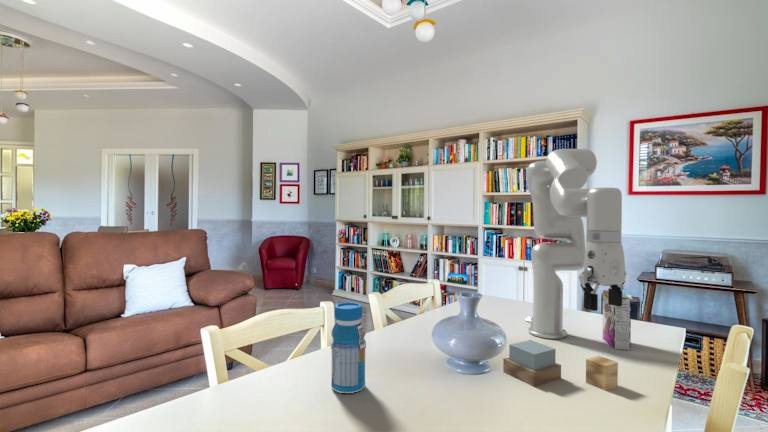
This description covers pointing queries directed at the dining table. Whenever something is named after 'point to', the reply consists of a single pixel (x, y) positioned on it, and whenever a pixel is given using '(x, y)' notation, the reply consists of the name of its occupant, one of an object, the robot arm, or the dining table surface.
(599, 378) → the oak block
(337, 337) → the beverage bottle
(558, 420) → the dining table surface
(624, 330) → the candy bar box
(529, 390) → the dining table surface
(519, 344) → the slate-grey block
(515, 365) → the walnut slab
